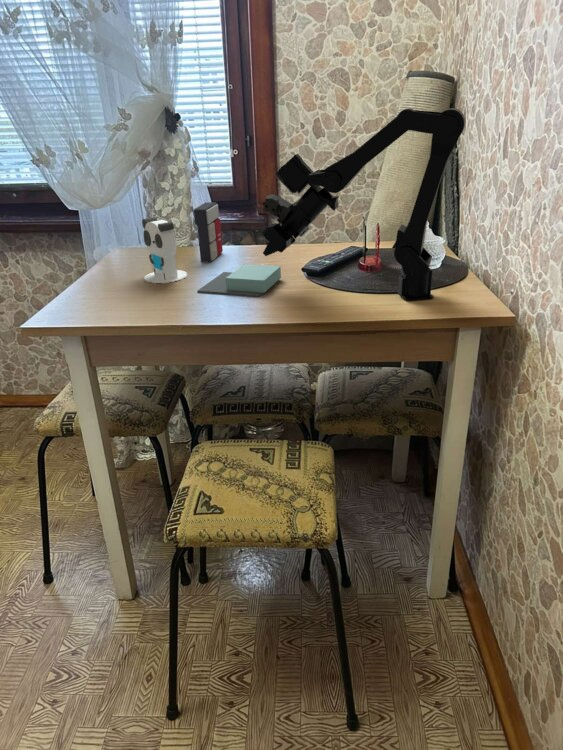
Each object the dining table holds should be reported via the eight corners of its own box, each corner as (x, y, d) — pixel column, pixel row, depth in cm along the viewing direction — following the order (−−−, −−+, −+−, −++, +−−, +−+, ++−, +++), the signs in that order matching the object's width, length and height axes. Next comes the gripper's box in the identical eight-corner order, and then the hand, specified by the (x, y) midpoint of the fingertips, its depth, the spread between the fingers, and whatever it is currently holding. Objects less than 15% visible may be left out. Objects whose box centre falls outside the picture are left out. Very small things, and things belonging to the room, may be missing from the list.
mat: (280, 277, 148) (279, 275, 148) (258, 297, 135) (258, 294, 134) (223, 273, 153) (223, 271, 153) (197, 292, 139) (197, 290, 139)
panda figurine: (136, 276, 154) (127, 220, 147) (174, 267, 160) (167, 213, 153) (156, 286, 145) (147, 227, 139) (194, 277, 151) (188, 220, 145)
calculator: (213, 262, 163) (207, 209, 156) (198, 262, 164) (193, 209, 157) (224, 252, 173) (219, 202, 166) (210, 252, 174) (205, 202, 167)
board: (280, 266, 145) (244, 264, 148) (264, 280, 134) (225, 277, 138) (280, 277, 146) (244, 275, 149) (264, 292, 136) (226, 289, 139)
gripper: (295, 176, 137) (255, 221, 145) (268, 189, 121) (225, 239, 129) (326, 210, 138) (285, 253, 146) (304, 227, 122) (260, 274, 131)
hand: (264, 254), depth 138 cm, fingers closed
